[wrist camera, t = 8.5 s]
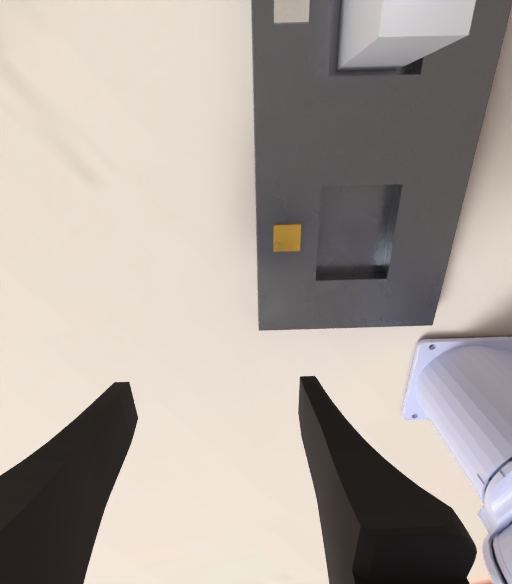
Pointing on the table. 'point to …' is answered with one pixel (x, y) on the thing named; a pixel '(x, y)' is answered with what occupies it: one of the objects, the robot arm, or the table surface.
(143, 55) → the table surface
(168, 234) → the table surface
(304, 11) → the panel
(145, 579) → the table surface
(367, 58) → the plug
